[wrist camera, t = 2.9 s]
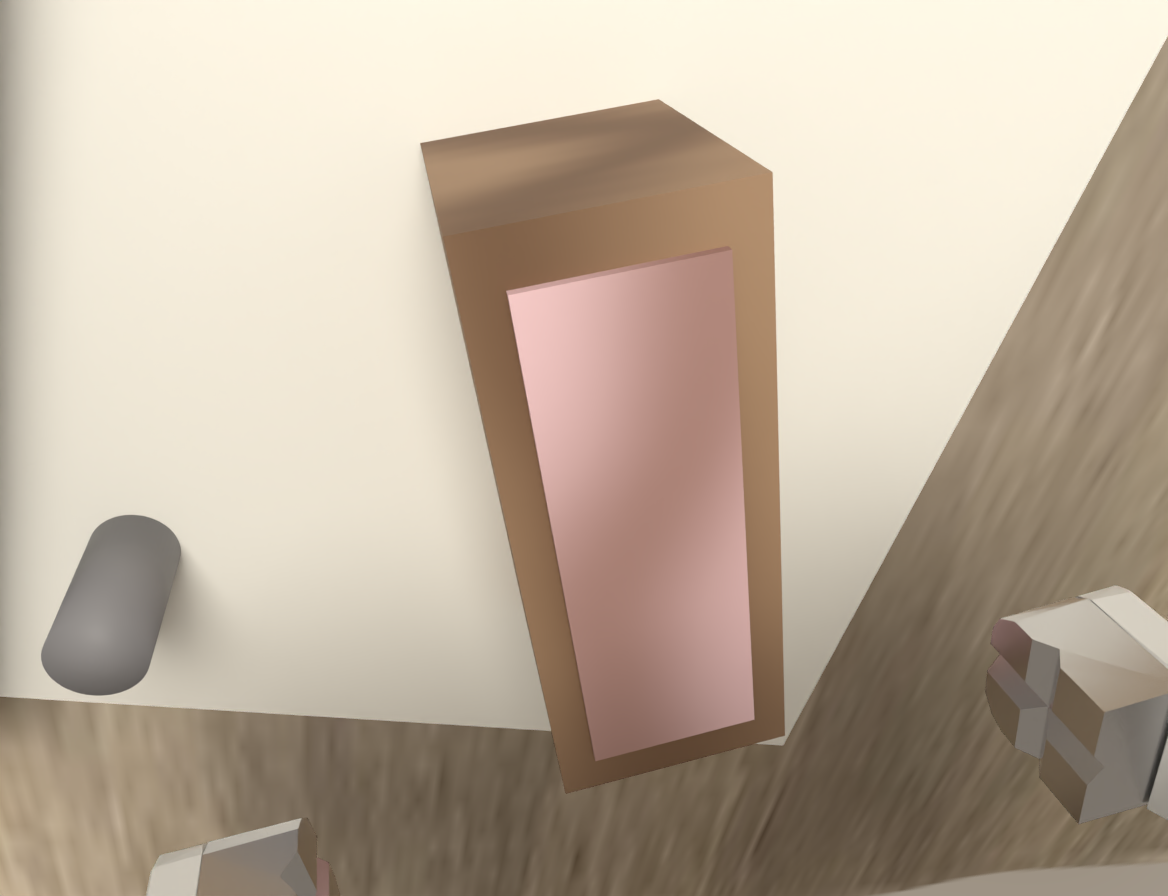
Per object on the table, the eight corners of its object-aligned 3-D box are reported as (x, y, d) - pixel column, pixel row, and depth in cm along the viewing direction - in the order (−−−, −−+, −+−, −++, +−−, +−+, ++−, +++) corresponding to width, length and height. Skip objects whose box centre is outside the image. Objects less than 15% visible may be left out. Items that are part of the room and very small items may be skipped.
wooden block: (658, 99, 15) (777, 174, 11) (698, 564, 20) (788, 741, 16) (420, 143, 15) (443, 241, 10) (522, 607, 20) (567, 801, 16)
